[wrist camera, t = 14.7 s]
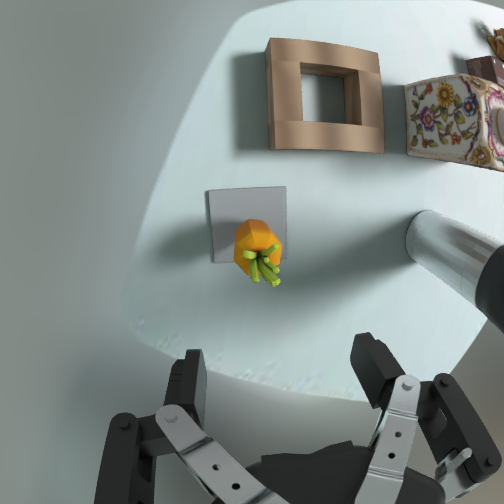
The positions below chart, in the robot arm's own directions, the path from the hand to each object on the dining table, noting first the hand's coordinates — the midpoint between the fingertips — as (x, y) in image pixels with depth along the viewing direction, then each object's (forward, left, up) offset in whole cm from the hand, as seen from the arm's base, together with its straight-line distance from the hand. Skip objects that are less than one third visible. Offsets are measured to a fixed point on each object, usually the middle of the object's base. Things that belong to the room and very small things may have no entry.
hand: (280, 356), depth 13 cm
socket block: (-10, -17, -25) cm, 32 cm away
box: (-46, -30, -25) cm, 61 cm away
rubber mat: (0, 0, -25) cm, 25 cm away
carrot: (0, 0, -25) cm, 25 cm away
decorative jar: (-30, -16, -25) cm, 43 cm away
